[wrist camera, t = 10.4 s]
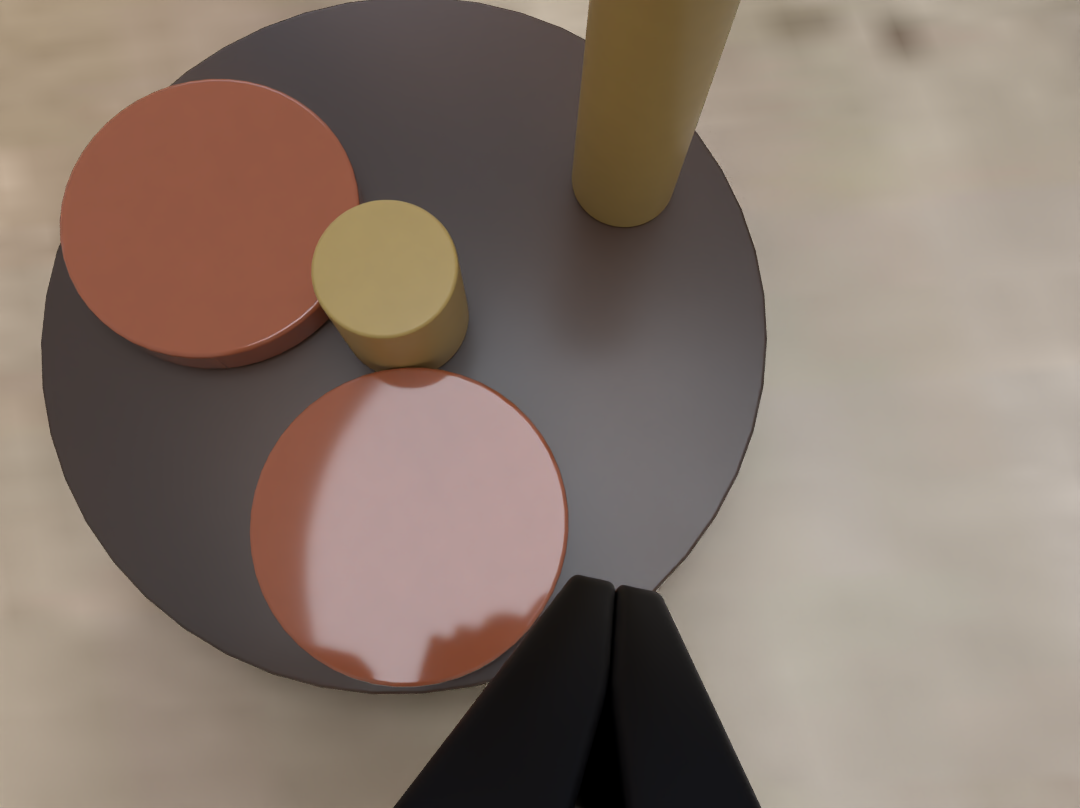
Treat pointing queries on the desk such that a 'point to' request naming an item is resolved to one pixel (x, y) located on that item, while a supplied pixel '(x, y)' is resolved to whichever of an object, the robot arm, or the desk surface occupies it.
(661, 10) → the peg and disc stand
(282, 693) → the desk surface
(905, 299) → the desk surface
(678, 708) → the robot arm
